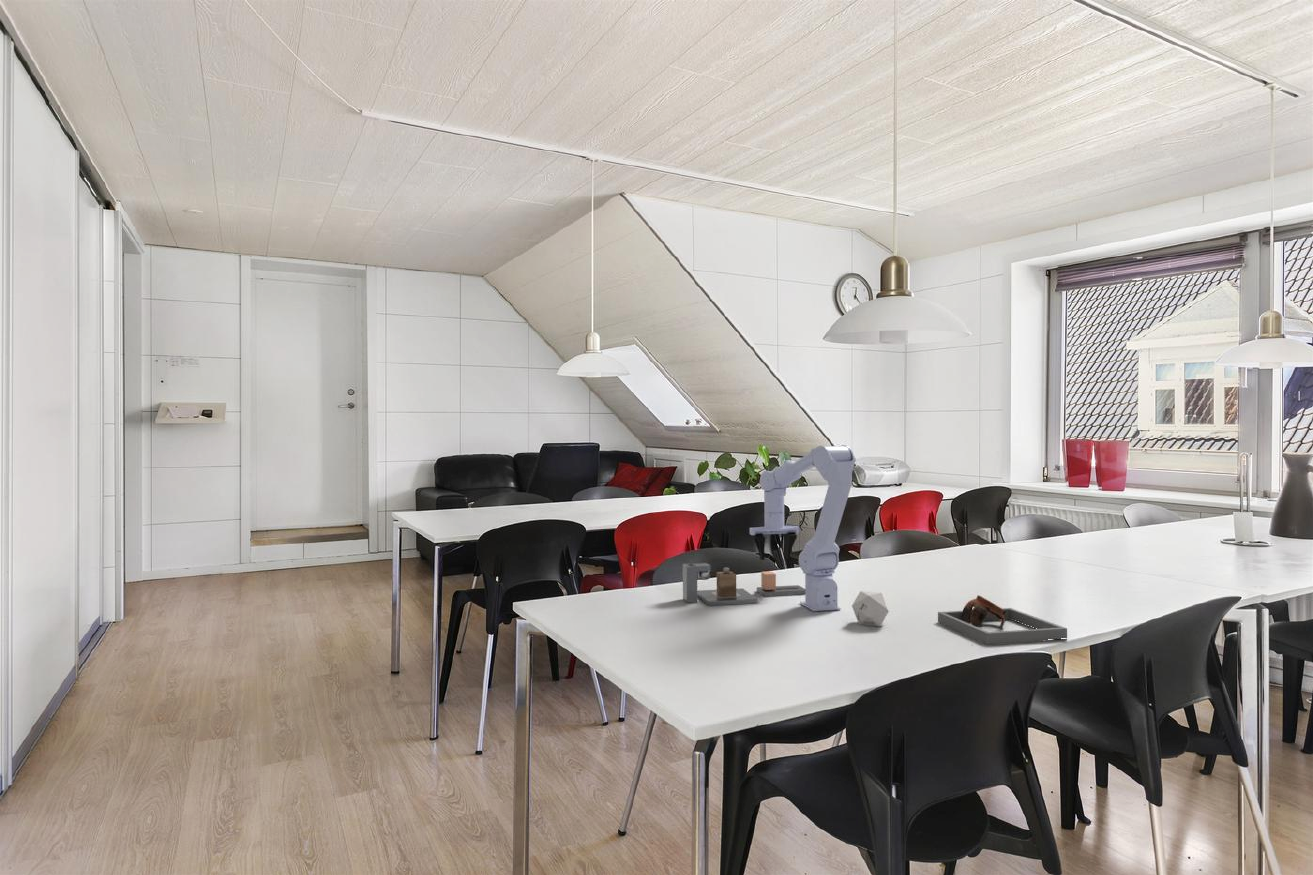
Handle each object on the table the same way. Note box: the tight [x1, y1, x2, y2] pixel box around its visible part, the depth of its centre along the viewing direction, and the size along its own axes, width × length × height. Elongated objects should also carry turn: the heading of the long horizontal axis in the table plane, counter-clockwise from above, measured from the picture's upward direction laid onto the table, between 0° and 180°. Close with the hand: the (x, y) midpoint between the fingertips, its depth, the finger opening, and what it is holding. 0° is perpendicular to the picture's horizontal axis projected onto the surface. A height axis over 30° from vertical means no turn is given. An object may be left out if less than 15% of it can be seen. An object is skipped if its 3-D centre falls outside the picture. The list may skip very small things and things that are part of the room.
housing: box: [716, 567, 737, 597], centre depth 215 cm, size 4×4×8 cm
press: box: [682, 562, 759, 607], centre depth 215 cm, size 14×19×10 cm
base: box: [756, 584, 805, 597], centre depth 223 cm, size 7×13×1 cm, turn 101°
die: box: [851, 590, 889, 627], centre depth 187 cm, size 8×9×10 cm
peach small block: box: [760, 571, 777, 590], centre depth 222 cm, size 4×3×4 cm
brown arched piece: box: [960, 595, 1006, 629], centre depth 183 cm, size 12×10×8 cm
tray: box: [937, 607, 1068, 646], centre depth 180 cm, size 20×20×2 cm
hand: (774, 558), depth 221 cm, fingers open, 7 cm apart
